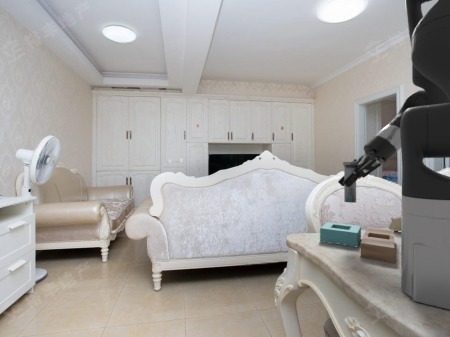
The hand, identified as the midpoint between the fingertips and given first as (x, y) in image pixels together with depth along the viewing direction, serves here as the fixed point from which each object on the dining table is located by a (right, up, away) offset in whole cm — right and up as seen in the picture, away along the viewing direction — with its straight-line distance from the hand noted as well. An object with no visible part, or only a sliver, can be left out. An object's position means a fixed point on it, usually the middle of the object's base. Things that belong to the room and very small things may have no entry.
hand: (343, 184), depth 75 cm
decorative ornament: (+24, -17, +12) cm, 32 cm away
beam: (+7, -17, -6) cm, 20 cm away
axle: (+2, -5, 0) cm, 6 cm away
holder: (0, -17, +2) cm, 17 cm away
